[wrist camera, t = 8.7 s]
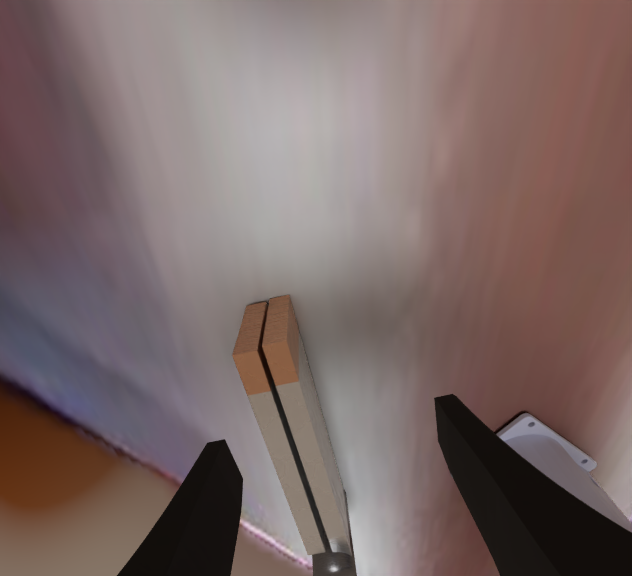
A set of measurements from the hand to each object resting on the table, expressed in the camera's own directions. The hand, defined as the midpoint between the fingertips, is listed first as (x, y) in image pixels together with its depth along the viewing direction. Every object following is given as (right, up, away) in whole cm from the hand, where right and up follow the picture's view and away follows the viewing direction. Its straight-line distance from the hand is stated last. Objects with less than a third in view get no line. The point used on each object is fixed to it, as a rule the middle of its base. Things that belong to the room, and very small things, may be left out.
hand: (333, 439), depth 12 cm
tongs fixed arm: (-1, -5, +14) cm, 14 cm away
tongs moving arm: (-3, -3, +13) cm, 13 cm away
